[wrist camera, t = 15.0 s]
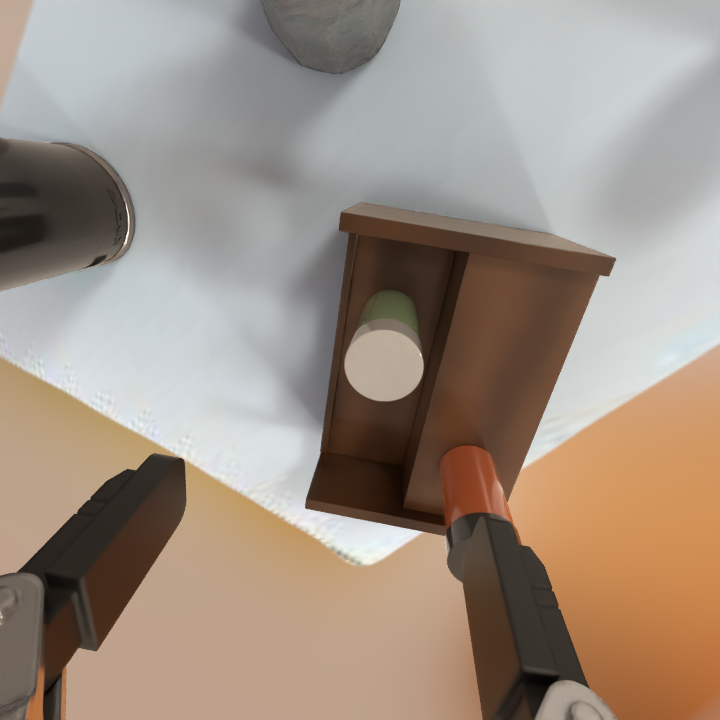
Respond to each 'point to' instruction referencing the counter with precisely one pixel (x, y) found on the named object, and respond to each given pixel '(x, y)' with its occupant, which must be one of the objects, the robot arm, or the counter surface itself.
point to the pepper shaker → (469, 499)
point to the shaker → (386, 348)
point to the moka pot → (331, 30)
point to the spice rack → (448, 356)
